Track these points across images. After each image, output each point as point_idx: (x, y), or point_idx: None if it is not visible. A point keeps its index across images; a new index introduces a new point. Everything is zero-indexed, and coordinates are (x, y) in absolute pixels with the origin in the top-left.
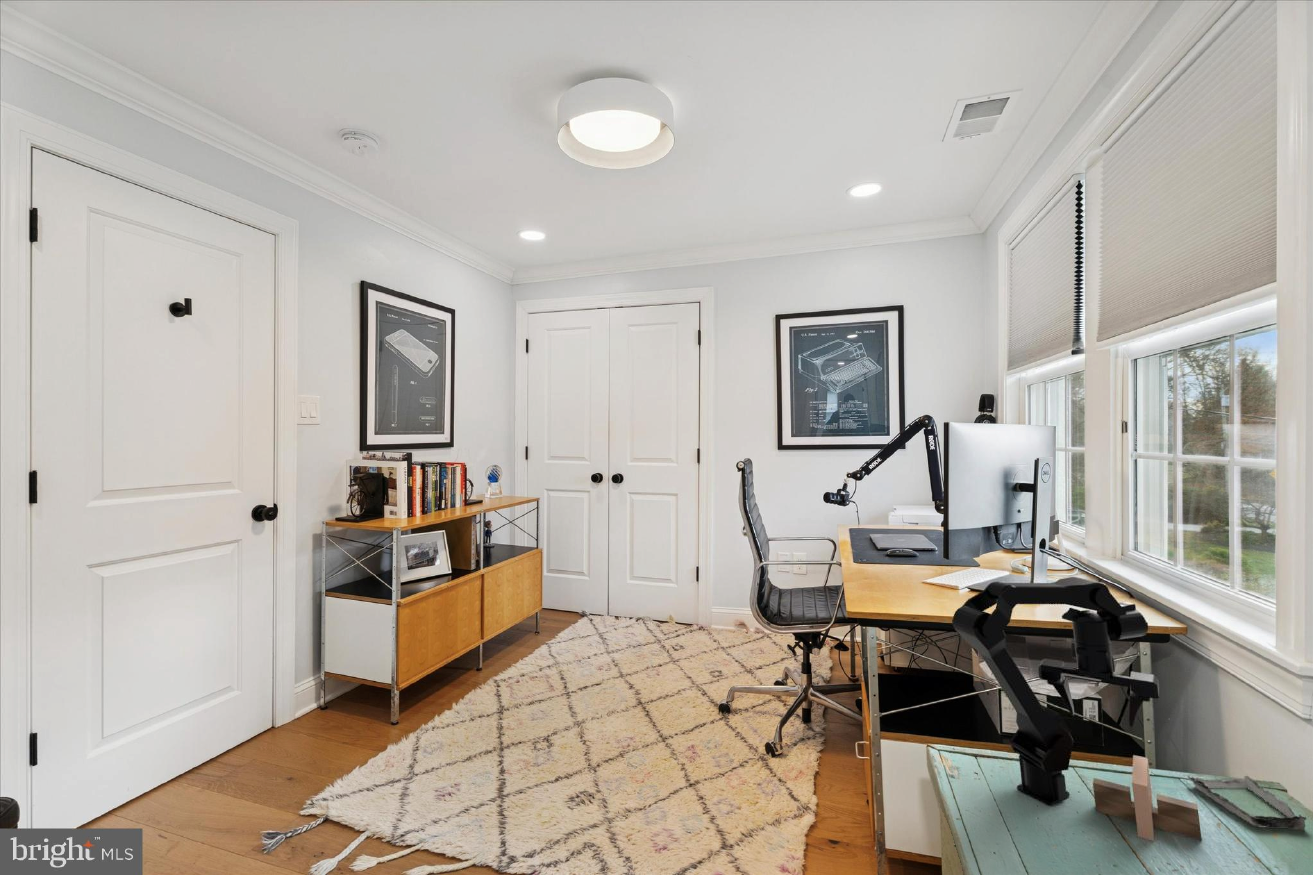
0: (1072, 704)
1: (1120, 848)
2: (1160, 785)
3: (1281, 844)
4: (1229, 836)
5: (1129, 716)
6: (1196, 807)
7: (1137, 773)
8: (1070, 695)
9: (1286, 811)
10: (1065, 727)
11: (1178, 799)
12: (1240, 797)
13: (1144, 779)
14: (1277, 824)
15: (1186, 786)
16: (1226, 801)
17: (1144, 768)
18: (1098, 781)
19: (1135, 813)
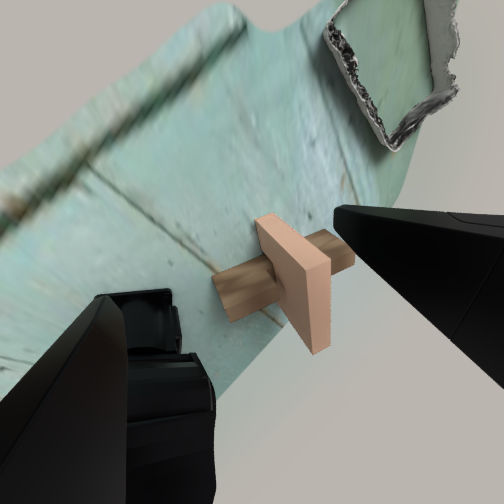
0: (102, 354)
1: (262, 326)
2: (266, 94)
3: (394, 170)
4: (349, 203)
5: (379, 274)
6: (353, 260)
7: (317, 327)
8: (63, 417)
9: (440, 48)
10: (210, 444)
11: (335, 258)
12: (387, 13)
13: (326, 334)
14: (409, 115)
15: (307, 45)
16: (373, 118)
17: (326, 303)
18: (235, 312)
19: (286, 316)
